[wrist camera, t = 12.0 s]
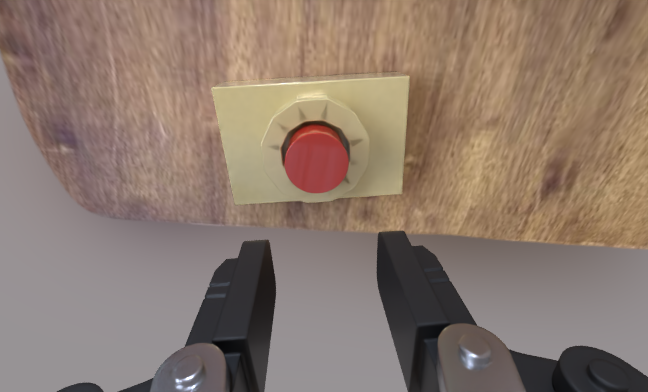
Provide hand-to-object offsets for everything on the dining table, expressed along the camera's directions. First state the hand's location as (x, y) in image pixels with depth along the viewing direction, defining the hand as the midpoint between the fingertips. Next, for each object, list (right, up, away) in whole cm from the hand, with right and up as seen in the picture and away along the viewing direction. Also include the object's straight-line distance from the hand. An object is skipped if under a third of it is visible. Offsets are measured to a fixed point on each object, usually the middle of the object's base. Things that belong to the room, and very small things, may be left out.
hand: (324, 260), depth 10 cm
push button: (-1, +5, +9) cm, 11 cm away
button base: (-1, +7, +14) cm, 15 cm away
